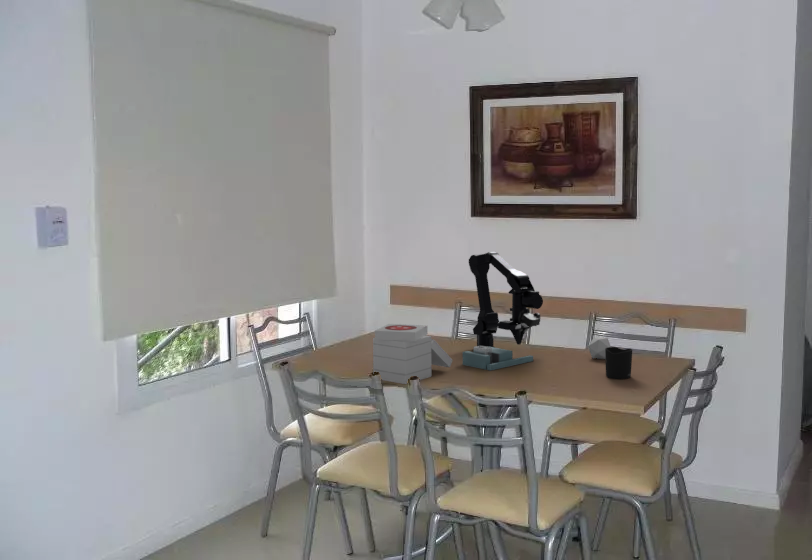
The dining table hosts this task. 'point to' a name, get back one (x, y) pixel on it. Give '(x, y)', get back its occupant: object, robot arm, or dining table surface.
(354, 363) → the dining table surface
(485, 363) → the vise body
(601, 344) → the die
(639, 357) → the dining table surface
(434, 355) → the pizza boxes
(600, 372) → the dining table surface
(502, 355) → the block
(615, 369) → the pen holder
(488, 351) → the steel block
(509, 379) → the dining table surface
